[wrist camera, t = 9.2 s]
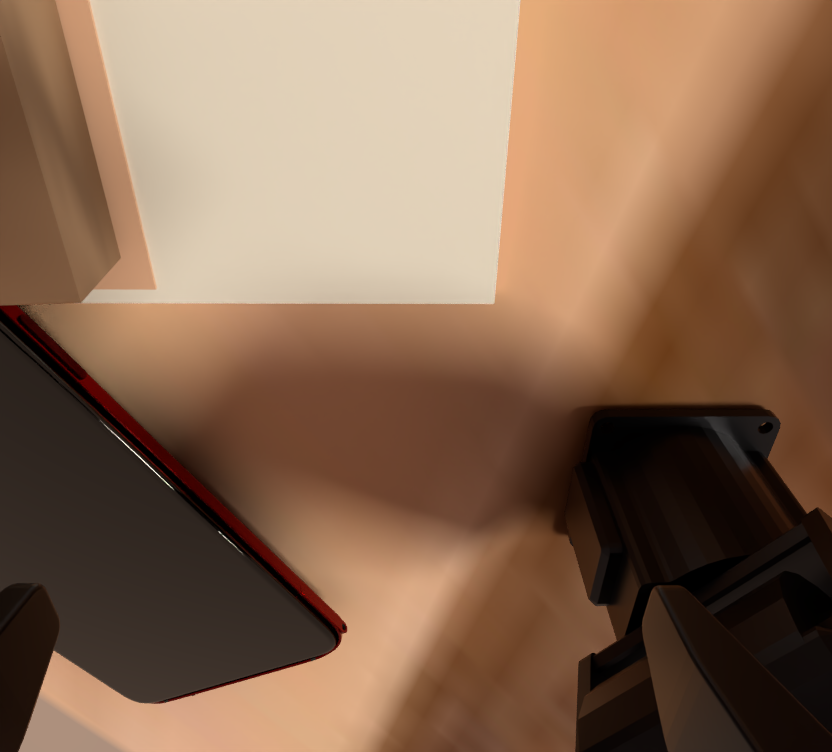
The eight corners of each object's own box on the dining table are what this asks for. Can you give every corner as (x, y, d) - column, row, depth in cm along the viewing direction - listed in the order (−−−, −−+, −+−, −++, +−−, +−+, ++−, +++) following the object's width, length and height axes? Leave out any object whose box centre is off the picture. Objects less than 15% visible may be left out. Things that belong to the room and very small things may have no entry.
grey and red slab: (140, 717, 30) (-489, 312, 18) (152, 685, 31) (-427, 286, 19) (358, 656, 26) (-251, 84, 14) (363, 622, 28) (-193, 70, 15)
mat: (547, -376, 12) (554, -393, 11) (491, 295, 20) (494, 305, 19) (-372, -396, 12) (-412, -414, 11) (-65, 293, 19) (-79, 304, 19)
